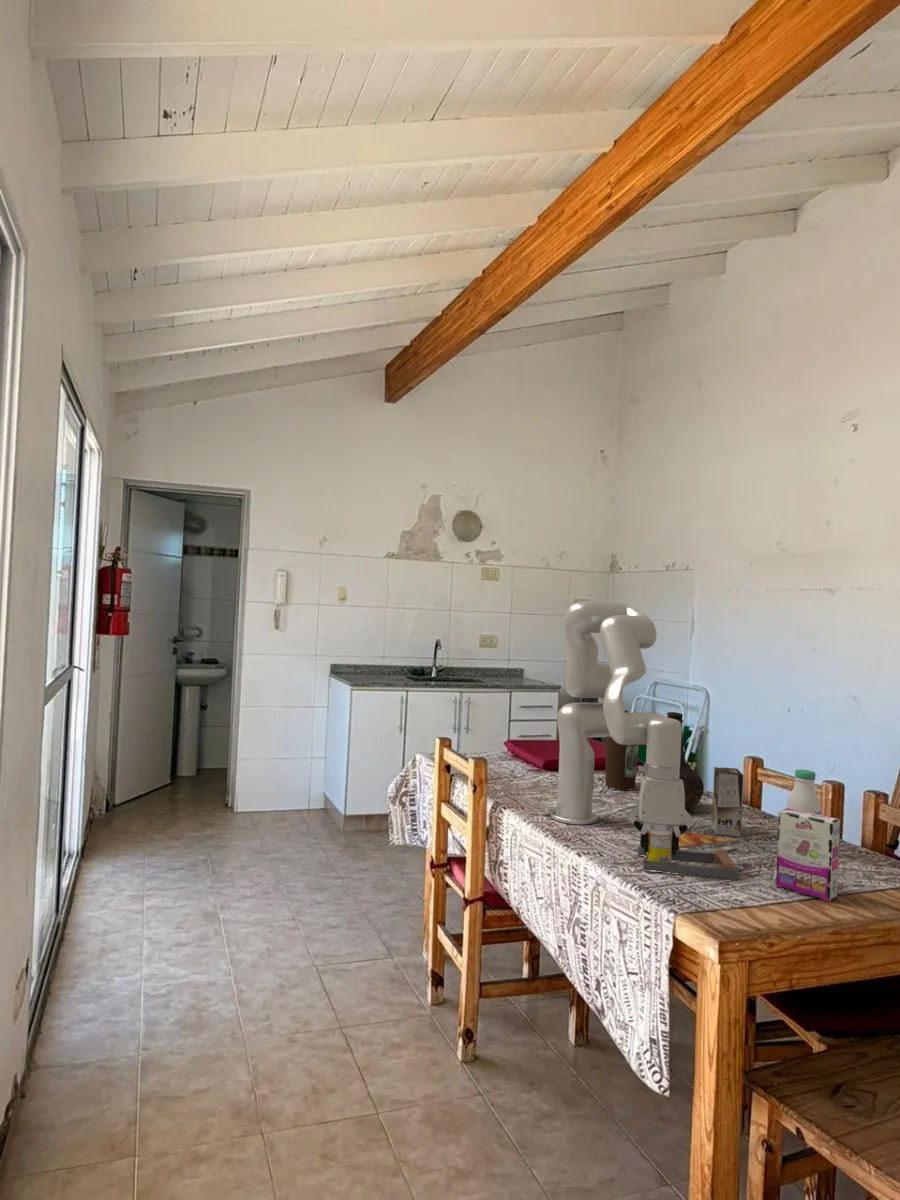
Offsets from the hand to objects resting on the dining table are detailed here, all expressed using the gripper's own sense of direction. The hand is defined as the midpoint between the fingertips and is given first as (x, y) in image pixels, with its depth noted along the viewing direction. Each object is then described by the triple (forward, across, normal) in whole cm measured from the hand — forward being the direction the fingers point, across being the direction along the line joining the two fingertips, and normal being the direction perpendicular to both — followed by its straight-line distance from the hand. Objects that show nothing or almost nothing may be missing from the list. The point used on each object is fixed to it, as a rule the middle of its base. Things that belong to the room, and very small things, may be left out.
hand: (659, 851), depth 177 cm
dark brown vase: (+3, +11, +54) cm, 55 cm away
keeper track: (+3, +6, 0) cm, 7 cm away
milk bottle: (+3, +37, +19) cm, 42 cm away
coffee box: (+3, +22, +33) cm, 40 cm away
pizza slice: (+4, +10, +19) cm, 22 cm away
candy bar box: (+3, +29, -10) cm, 31 cm away
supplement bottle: (+3, 0, 0) cm, 3 cm away
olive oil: (+3, -2, +75) cm, 75 cm away
